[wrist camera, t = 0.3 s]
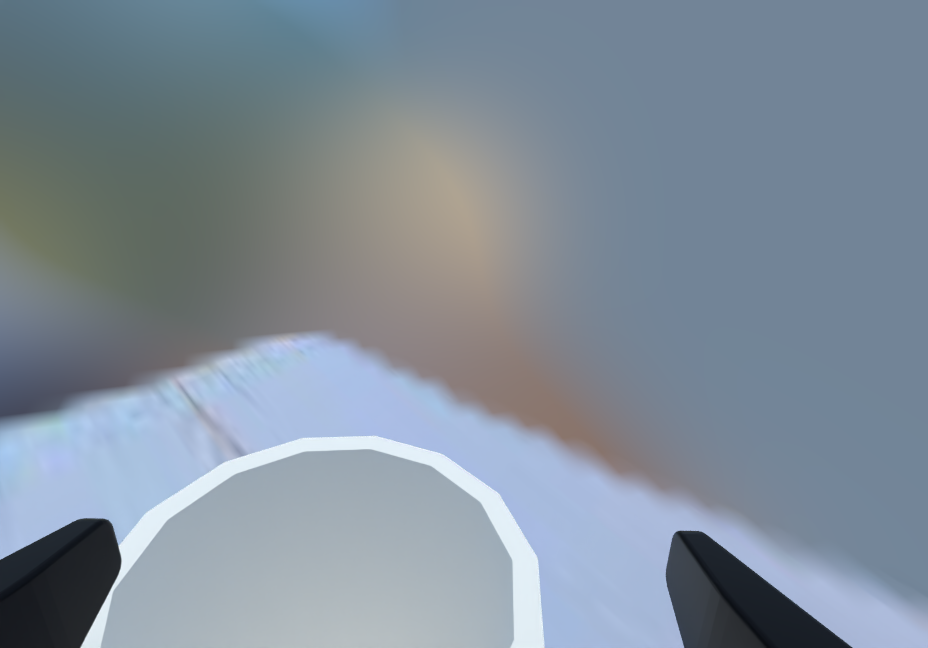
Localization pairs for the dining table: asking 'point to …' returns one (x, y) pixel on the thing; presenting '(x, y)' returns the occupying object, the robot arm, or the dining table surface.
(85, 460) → the dining table surface
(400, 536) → the foam cup
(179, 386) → the dining table surface
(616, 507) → the dining table surface
